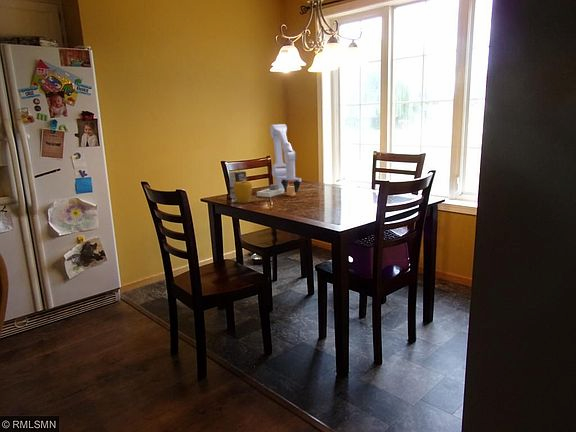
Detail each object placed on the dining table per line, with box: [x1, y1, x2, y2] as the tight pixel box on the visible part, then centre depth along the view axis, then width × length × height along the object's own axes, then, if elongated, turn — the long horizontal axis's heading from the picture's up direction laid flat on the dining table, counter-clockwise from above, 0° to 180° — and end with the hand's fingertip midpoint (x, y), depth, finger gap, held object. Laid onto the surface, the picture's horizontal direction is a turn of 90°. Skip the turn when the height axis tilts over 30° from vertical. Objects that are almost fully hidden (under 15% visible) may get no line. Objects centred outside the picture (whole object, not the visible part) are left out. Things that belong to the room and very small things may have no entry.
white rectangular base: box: [256, 183, 285, 199], centre depth 275 cm, size 16×10×6 cm, turn 146°
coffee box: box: [228, 170, 247, 200], centre depth 269 cm, size 9×6×16 cm
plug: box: [286, 185, 296, 197], centre depth 273 cm, size 4×4×6 cm
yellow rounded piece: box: [234, 180, 253, 204], centre depth 255 cm, size 11×11×13 cm
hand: (291, 192), depth 274 cm, fingers open, 7 cm apart
